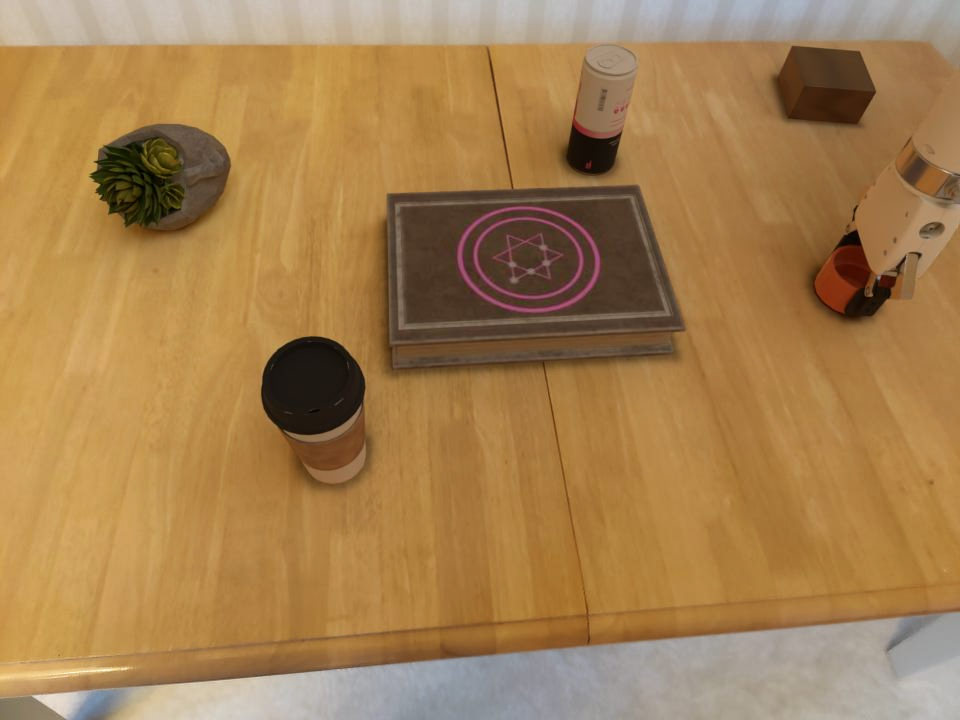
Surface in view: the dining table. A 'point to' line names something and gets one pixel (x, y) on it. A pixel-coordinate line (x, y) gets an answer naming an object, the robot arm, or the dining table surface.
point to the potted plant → (162, 175)
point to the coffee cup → (318, 405)
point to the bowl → (844, 276)
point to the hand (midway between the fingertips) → (849, 285)
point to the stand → (825, 85)
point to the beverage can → (601, 107)
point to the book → (525, 277)
